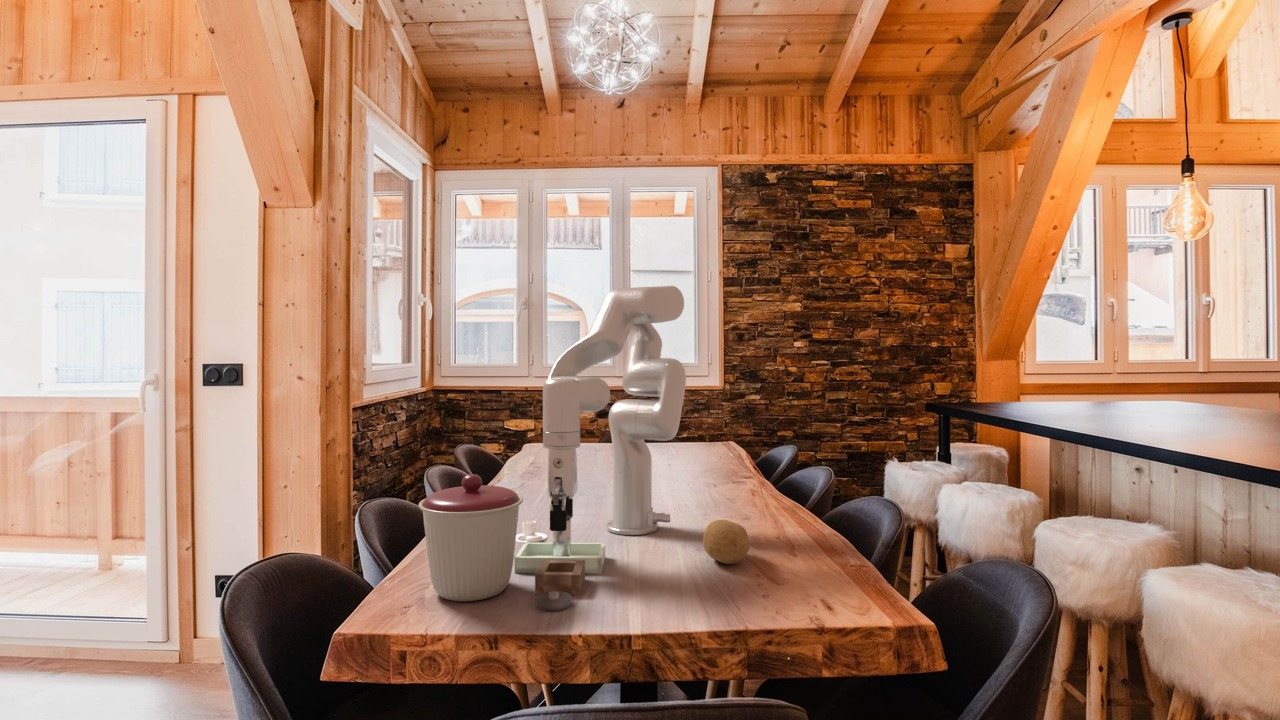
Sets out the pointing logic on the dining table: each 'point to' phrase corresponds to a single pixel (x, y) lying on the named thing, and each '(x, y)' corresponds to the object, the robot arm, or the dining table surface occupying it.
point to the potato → (726, 541)
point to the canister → (471, 538)
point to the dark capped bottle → (562, 541)
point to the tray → (537, 552)
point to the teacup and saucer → (530, 532)
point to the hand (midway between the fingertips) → (561, 523)
